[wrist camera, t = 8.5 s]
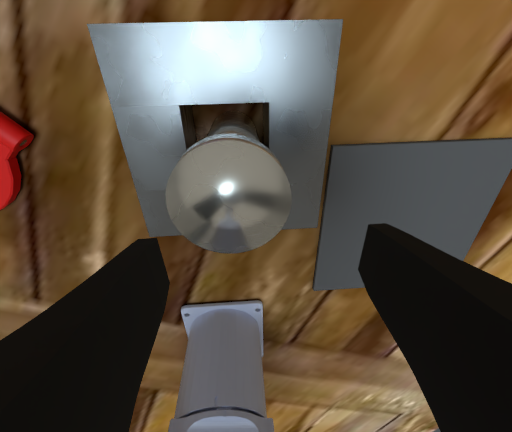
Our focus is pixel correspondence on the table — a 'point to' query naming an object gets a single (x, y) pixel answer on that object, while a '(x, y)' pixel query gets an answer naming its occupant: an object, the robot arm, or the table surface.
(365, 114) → the table surface
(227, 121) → the pin
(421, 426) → the table surface
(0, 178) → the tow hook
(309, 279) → the table surface
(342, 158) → the mat
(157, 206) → the square hole block
